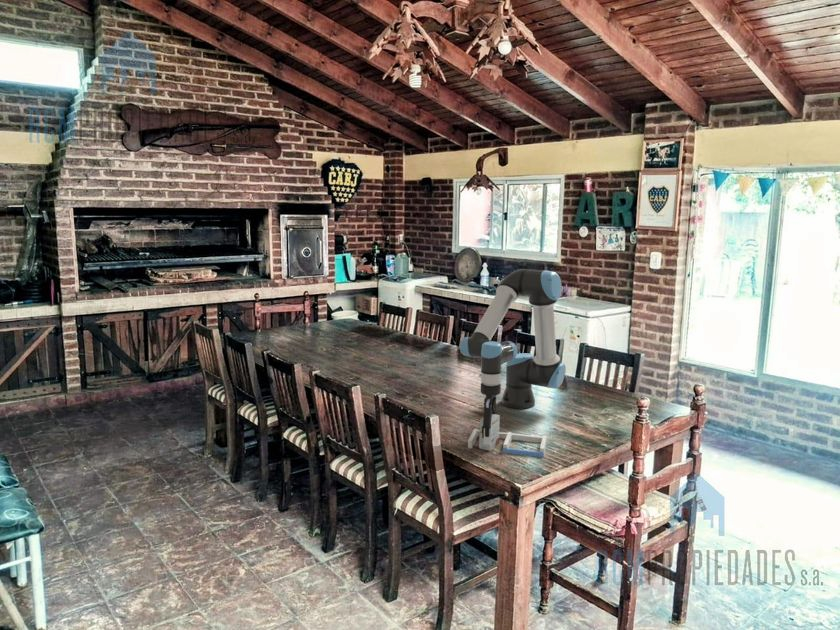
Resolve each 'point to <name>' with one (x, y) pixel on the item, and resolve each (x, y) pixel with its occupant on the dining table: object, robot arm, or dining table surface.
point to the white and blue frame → (512, 436)
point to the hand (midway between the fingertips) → (489, 439)
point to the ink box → (494, 433)
